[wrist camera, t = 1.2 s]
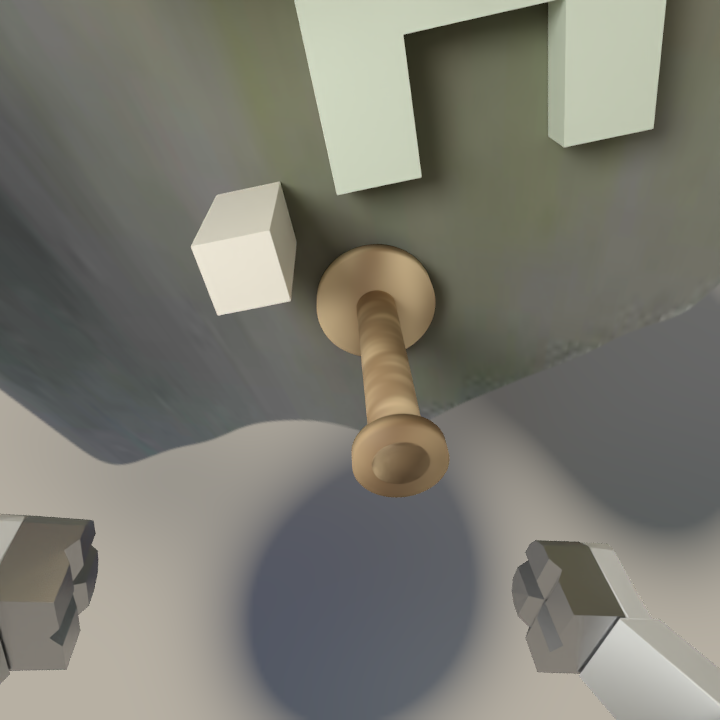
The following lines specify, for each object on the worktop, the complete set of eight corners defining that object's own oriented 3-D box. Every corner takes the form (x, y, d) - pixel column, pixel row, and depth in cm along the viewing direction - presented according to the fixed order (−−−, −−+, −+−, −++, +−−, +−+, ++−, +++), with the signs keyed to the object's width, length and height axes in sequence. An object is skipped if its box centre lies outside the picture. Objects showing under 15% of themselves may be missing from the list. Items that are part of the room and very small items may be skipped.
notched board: (651, -138, 30) (681, -148, 27) (631, 118, 37) (653, 128, 35) (286, -50, 31) (282, -53, 29) (336, 181, 38) (336, 195, 36)
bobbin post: (424, 233, 41) (482, 378, 26) (438, 335, 46) (493, 506, 31) (304, 257, 41) (293, 413, 26) (331, 356, 46) (334, 533, 32)
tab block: (280, 181, 38) (269, 230, 31) (296, 242, 41) (290, 300, 33) (216, 195, 38) (190, 246, 31) (236, 254, 41) (217, 315, 34)
